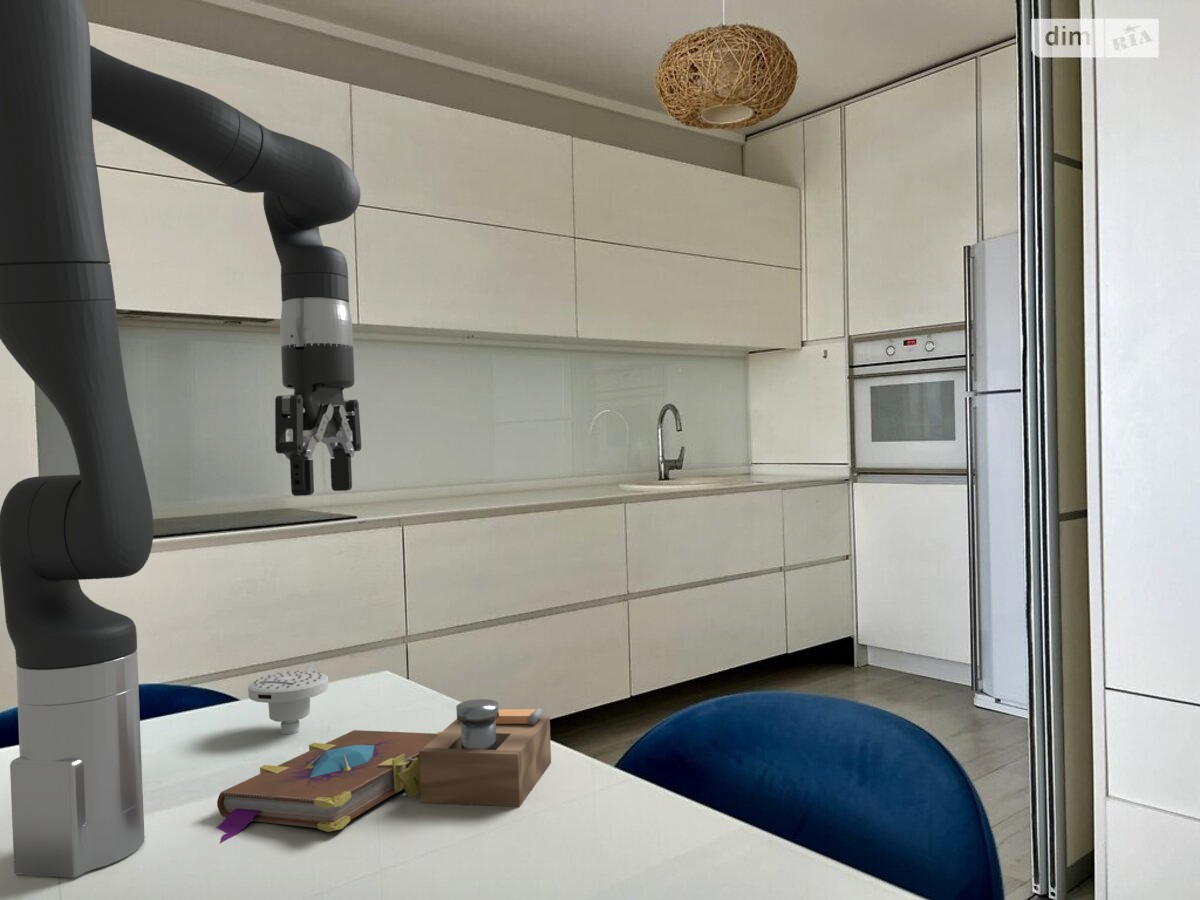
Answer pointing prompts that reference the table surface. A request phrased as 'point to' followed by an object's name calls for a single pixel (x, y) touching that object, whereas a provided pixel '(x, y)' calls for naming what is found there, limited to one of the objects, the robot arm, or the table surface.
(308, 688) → the showerhead
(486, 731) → the pin
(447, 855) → the table surface
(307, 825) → the book
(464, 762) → the block
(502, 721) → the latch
